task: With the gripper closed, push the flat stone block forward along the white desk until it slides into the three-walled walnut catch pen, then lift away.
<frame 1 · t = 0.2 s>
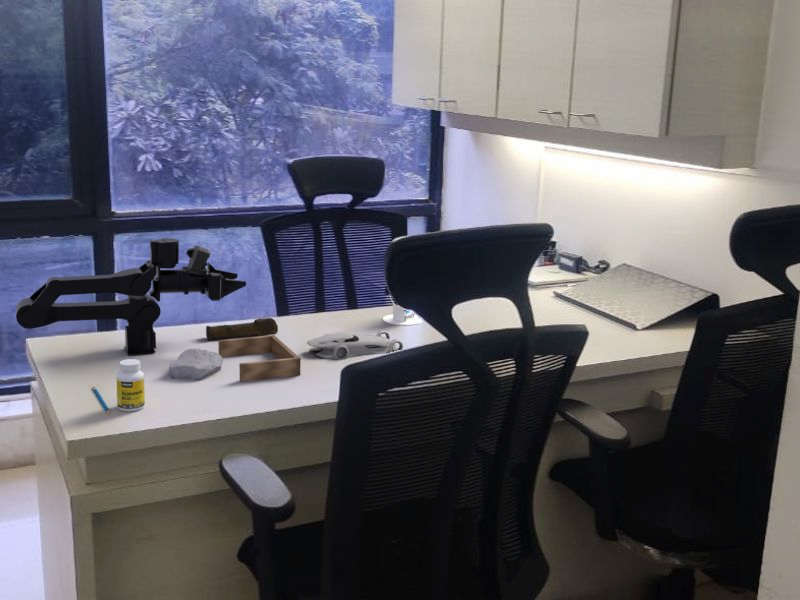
hand: (241, 279, 226), 17 cm above the table, tool horizontal, fingers open, 9 cm apart
supplement bottle: (131, 408, 183), on the table
stone block: (198, 373, 207), on the table
car model: (353, 352, 227), on the table
pencil: (101, 403, 187), on the table
brown wooden log: (242, 337, 236), on the table
panda figurine: (402, 321, 256), on the table
catch pen: (258, 365, 213), on the table
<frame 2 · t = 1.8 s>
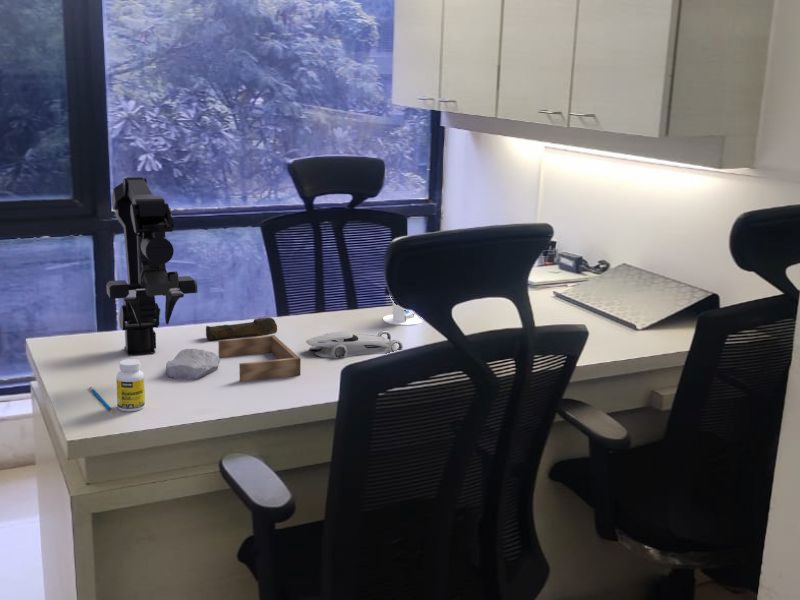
hand: (153, 324, 200), 12 cm above the table, tool pointing down, fingers open, 6 cm apart
nothing on the table moved.
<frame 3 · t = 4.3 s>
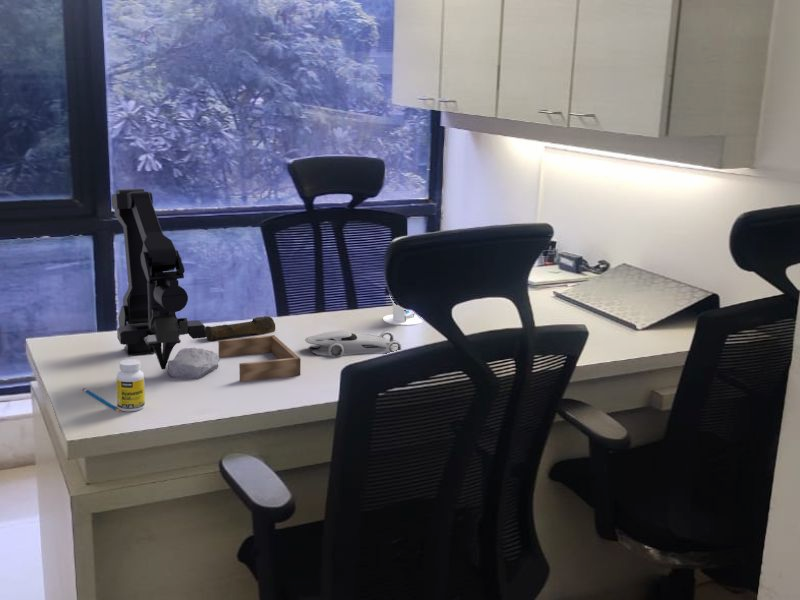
hand: (163, 368, 203), 2 cm above the table, tool pointing down, fingers closed
stone block: (195, 372, 208), on the table, touching gripper
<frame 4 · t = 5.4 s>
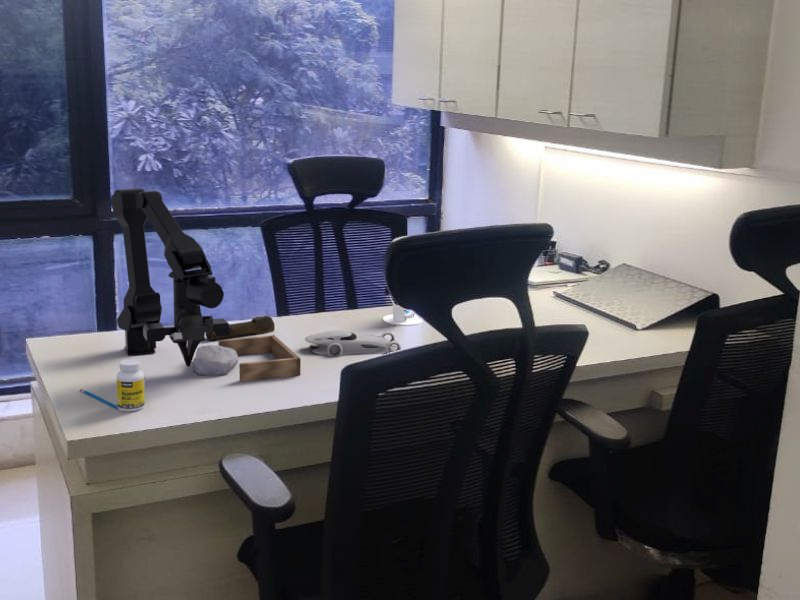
hand: (188, 366, 205), 2 cm above the table, tool pointing down, fingers closed
stone block: (217, 368, 210), on the table, touching gripper
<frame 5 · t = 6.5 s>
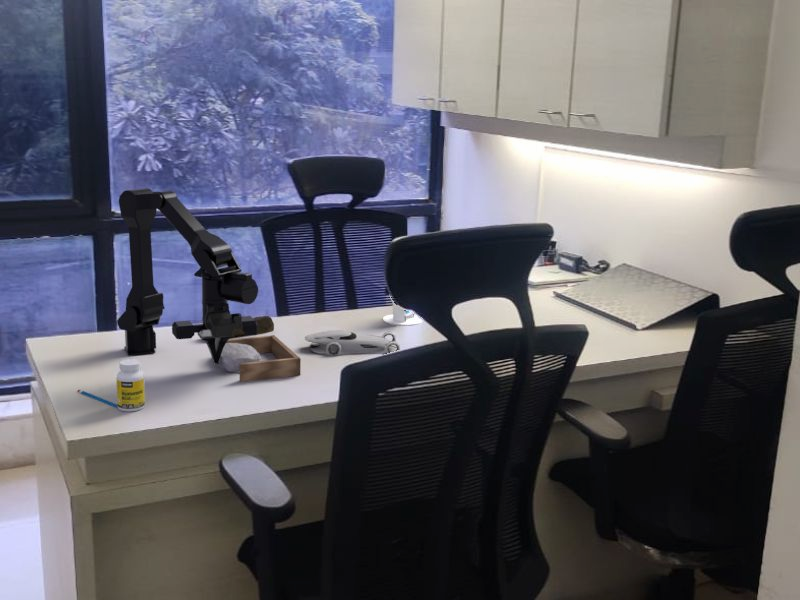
hand: (215, 363, 208), 2 cm above the table, tool pointing down, fingers closed
stone block: (239, 365, 213), on the table, touching gripper
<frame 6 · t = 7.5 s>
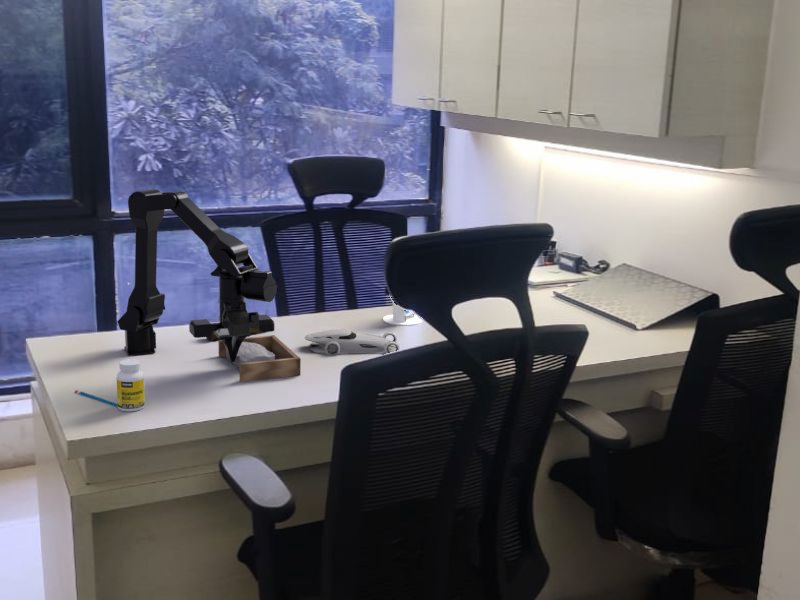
hand: (232, 361, 209), 2 cm above the table, tool pointing down, fingers closed
stone block: (252, 364, 215), on the table, touching catch pen, gripper
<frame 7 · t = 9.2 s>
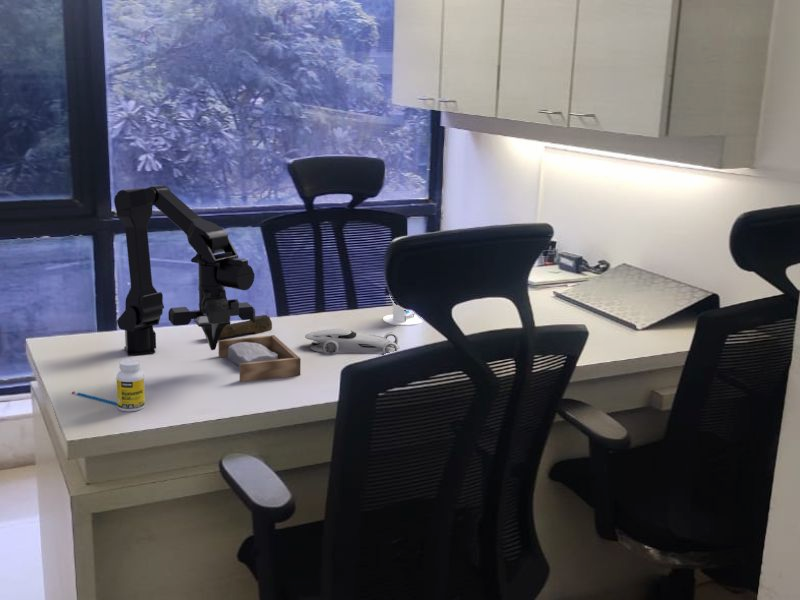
hand: (212, 349, 207), 5 cm above the table, tool pointing down, fingers closed
stone block: (255, 364, 215), on the table, touching catch pen
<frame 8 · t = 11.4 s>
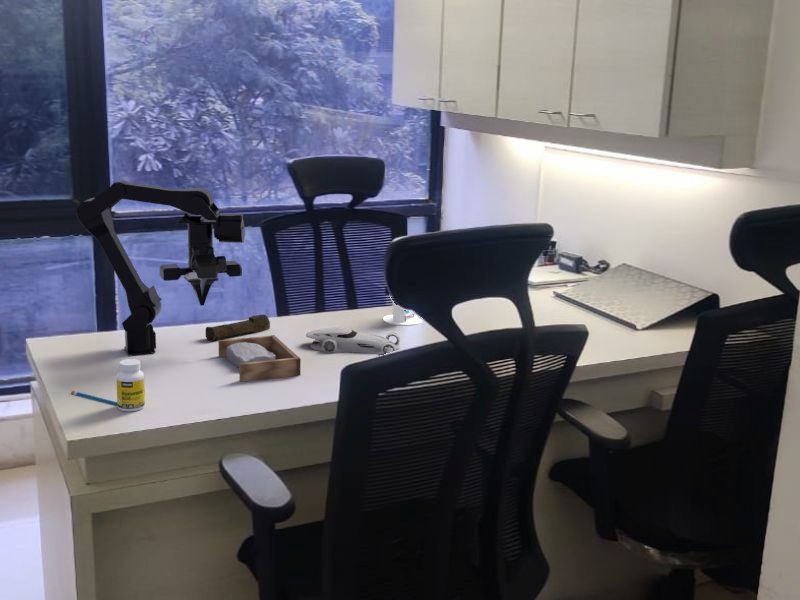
hand: (201, 305, 218), 12 cm above the table, tool pointing down, fingers closed
stone block: (252, 364, 215), on the table
at the end: stone block inside the target area (3.0 cm from its centre), on the table; stone block moved 13.9 cm from its start; the gripper is holding nothing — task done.
